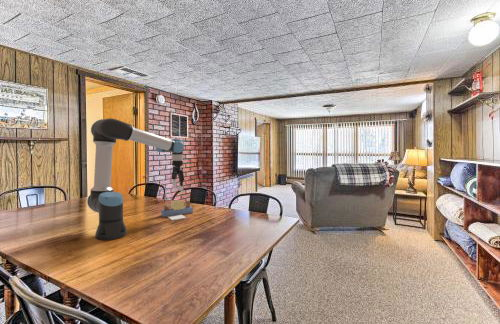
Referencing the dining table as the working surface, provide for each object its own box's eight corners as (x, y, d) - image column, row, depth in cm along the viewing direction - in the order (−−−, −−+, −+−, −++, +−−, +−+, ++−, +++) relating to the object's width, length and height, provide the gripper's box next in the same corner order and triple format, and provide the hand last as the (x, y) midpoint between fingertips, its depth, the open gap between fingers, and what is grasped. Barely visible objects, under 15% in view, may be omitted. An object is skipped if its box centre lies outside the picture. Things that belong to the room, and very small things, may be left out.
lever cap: (183, 208, 186) (184, 201, 186) (173, 210, 182) (173, 202, 182) (180, 207, 192) (180, 199, 191) (170, 208, 187) (170, 201, 187)
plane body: (192, 212, 191) (192, 200, 191) (163, 216, 178) (163, 204, 178) (190, 211, 195) (190, 199, 195) (161, 215, 183) (161, 202, 182)
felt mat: (186, 218, 176) (186, 217, 176) (171, 220, 170) (171, 219, 170) (181, 215, 183) (181, 214, 183) (167, 217, 177) (167, 216, 177)
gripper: (189, 160, 177) (189, 191, 178) (176, 159, 197) (176, 186, 198) (178, 161, 173) (178, 192, 174) (166, 159, 193) (167, 187, 194)
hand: (177, 189), depth 186 cm, fingers open, 13 cm apart
